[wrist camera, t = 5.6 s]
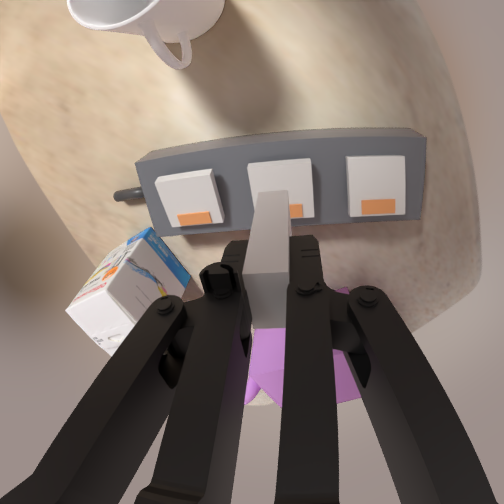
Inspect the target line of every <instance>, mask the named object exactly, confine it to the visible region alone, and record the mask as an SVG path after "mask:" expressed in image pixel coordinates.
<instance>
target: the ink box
mask: <svg viewBox="0 0 504 504" xmlns="http://www.w3.org/2000/svg"><path fill="white" fill-rule="evenodd" d="M190 277H191V276H190V275H189V274H188V273H187V272H186V270H185V269H184V268H183V266H182V265H181V264H180V263H179V261H178V260H177V259H176V257H175V256H174V255H173V254H172V252H171V251H170V250H169V248H168V247H167V246H166V245H165V243H164V242H163V241H162V240H161V238H160V237H157V235H156V232H155V231H154V230H153V229H152V228H151V227H149V228H147V229H146V230H144V231H142V232H141V233H139V234H137V235H136V236H134V237H132V238H131V239H129V240H128V241H126V242H124V243H123V244H121V245H120V246H118V247H117V248H115V249H114V250H112V251H110V252H109V253H108V255H107V256H106V257H105V259H104V260H103V261H102V262H101V264H100V265H99V266H98V268H97V269H96V270H95V272H94V273H93V274H92V276H91V277H90V278H89V279H88V281H87V282H86V283H85V285H84V286H83V287H82V289H81V290H80V292H79V293H78V294H77V296H76V297H75V298H74V300H73V301H72V302H71V304H70V305H69V307H68V308H67V309H66V312H67V313H68V314H69V315H70V317H71V318H72V319H73V320H74V321H75V322H76V323H77V324H78V325H79V326H80V327H81V328H82V329H83V330H84V331H85V332H86V334H87V335H89V337H90V338H91V339H92V340H94V342H95V343H96V344H97V345H99V346H100V347H101V348H102V349H104V350H105V351H106V352H107V353H108V354H109V355H110V356H111V357H112V355H113V354H114V353H115V351H116V350H117V349H118V347H119V346H120V345H121V343H122V342H123V341H124V339H125V338H126V336H127V335H128V334H129V332H130V331H131V330H132V328H133V327H134V326H135V324H136V323H137V322H138V321H139V319H140V318H141V317H142V315H143V314H144V313H145V311H146V310H147V309H148V307H149V306H150V305H151V304H152V303H153V302H154V301H155V300H156V299H158V298H160V297H162V296H166V295H176V296H178V297H180V298H182V296H183V293H184V291H185V288H186V286H187V284H188V282H189V279H190Z"/></svg>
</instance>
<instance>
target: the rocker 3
mask: <svg viewBox="0 0 504 504" xmlns="http://www.w3.org/2000/svg"><path fill="white" fill-rule="evenodd" d="M345 158H346V174H347V194H348V214H349V216H350V217H360V216H381V215H404V214H405V156H402V155H365V156H345Z"/></svg>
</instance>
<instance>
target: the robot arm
mask: <svg viewBox="0 0 504 504" xmlns="http://www.w3.org/2000/svg"><path fill="white" fill-rule="evenodd" d="M199 276H200V280H201V283H202V286H203V289H204V292H205V293H204V296H203V297H201V298H199V299H196V300H192V301H188V302H184V303H183V301H182V299H181V298H180V297H178V296H176V295H166V296H162V297H160V298H158V299H156V300H155V301H154V302H153V303H152V304H151V305H150V306H149V307H148V309H147V310H146V311H145V313H144V314H143V315H142V317H141V318H140V319H139V321H138V322H137V323H136V324H135V326H134V327H133V328H132V330H131V331H130V332H129V334H128V335H127V336H126V338H125V339H124V341H123V342H122V343H121V345H120V346H119V347H118V349H117V350H116V351H115V353H114V354H113V355H112V357H111V358H110V360H109V361H108V362H107V364H106V365H105V367H104V368H103V369H102V371H101V372H100V373H99V375H98V376H97V378H96V379H95V380H94V382H93V383H92V385H91V386H90V388H89V389H88V390H87V392H86V393H85V395H84V396H83V398H82V399H81V401H80V402H79V403H78V405H77V407H76V408H75V409H74V411H73V412H72V414H71V415H70V417H69V418H68V420H67V422H66V423H65V424H64V426H63V427H62V429H61V430H60V432H59V433H58V435H57V436H56V438H55V439H54V441H53V442H52V444H51V446H50V447H49V449H48V450H47V452H46V453H45V455H44V456H43V458H42V460H41V461H40V463H39V464H38V466H37V468H36V469H35V471H34V472H33V474H32V475H31V476H29V477H28V478H27V479H26V480H25V481H23V482H22V483H20V484H19V485H18V486H17V487H15V488H14V489H12V490H11V491H10V492H9V493H7V494H6V495H5V496H3V497H2V498H1V499H0V504H118V503H119V502H120V500H121V498H122V496H123V494H124V493H125V491H126V489H127V487H128V486H129V484H130V482H131V480H132V479H133V477H134V475H135V473H136V472H137V470H138V468H139V466H140V464H141V463H142V461H143V459H144V457H145V456H146V454H147V452H148V450H149V448H150V447H151V445H152V443H153V441H154V440H155V438H156V436H157V434H158V432H159V431H160V429H161V427H162V425H163V423H164V421H165V420H166V418H167V416H168V415H169V416H168V420H167V424H166V427H165V431H164V435H163V439H162V442H161V446H160V450H159V454H158V458H157V462H156V465H155V469H154V474H153V477H152V480H151V483H150V484H149V485H148V486H147V487H145V488H144V489H142V490H141V491H140V492H139V494H138V495H137V497H136V500H135V502H134V504H230V503H231V497H232V490H233V483H234V475H235V468H236V461H237V453H238V446H239V439H240V432H241V424H242V417H243V409H244V402H245V394H246V386H247V378H248V371H249V363H250V355H251V347H252V334H251V324H253V329H270V328H286V331H285V356H284V378H283V397H282V414H281V430H280V445H279V457H278V470H277V482H276V494H275V501H274V504H340V503H339V452H338V424H337V423H338V421H337V401H336V385H335V371H334V359H333V349H335V350H340V351H343V354H344V356H345V359H346V361H347V364H348V366H349V368H350V371H351V373H352V376H353V378H354V380H355V383H356V385H357V388H358V390H359V393H360V395H361V398H362V400H363V402H364V405H365V407H366V410H367V412H368V415H369V418H370V420H371V423H372V425H373V428H374V430H375V433H376V436H377V438H378V441H379V444H380V446H381V448H382V451H383V454H384V457H385V459H386V462H387V465H388V468H389V470H390V473H391V476H392V479H393V482H394V484H395V487H396V490H397V493H398V496H399V499H400V502H401V504H498V503H497V502H496V499H495V497H494V494H493V492H492V489H491V487H490V484H489V482H488V479H487V477H486V474H485V472H484V470H483V467H482V465H481V463H480V461H479V459H478V456H477V454H476V452H475V450H474V448H473V445H472V443H471V441H470V439H469V437H468V435H467V433H466V431H465V429H464V427H463V425H462V423H461V421H460V419H459V417H458V415H457V413H456V411H455V409H454V407H453V405H452V403H451V402H450V400H449V398H448V396H447V394H446V392H445V390H444V389H443V387H442V385H441V383H440V382H439V380H438V378H437V376H436V374H435V373H434V371H433V369H432V368H431V366H430V364H429V363H428V361H427V359H426V357H425V355H424V354H423V352H422V350H421V349H420V347H419V346H418V344H417V342H416V341H415V339H414V337H413V336H412V334H411V332H410V331H409V329H408V328H407V326H406V325H405V323H404V321H403V320H402V318H401V317H400V315H399V314H398V312H397V311H396V309H395V307H394V306H393V304H392V303H391V301H390V300H389V298H388V297H387V295H386V294H385V293H384V292H383V291H382V290H381V289H378V288H376V287H373V286H359V287H357V288H355V289H353V290H352V291H351V292H350V293H349V294H345V293H340V292H336V291H334V290H332V289H330V288H329V287H328V286H327V285H326V284H325V282H324V279H323V272H322V265H321V257H320V250H319V243H318V241H317V239H316V238H315V237H314V236H313V235H304V236H292V230H291V218H290V207H289V197H288V190H280V191H268V192H258V197H257V202H256V207H255V212H254V217H253V222H252V227H251V232H250V237H249V240H239V241H231V242H230V243H229V244H228V245H227V246H226V248H225V250H224V253H223V257H222V260H221V262H217V263H213V264H211V265H208V266H206V267H205V268H204V269H203V270H202V271H201V272H200V274H199Z"/></svg>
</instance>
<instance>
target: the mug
mask: <svg viewBox="0 0 504 504" xmlns="http://www.w3.org/2000/svg"><path fill="white" fill-rule="evenodd" d="M224 4H225V0H67V5H68V8H69V11H70V13H71V15H72V17H73V18H74V19H75V20H76V21H77V22H78V23H79V24H80V25H82V26H84V27H86V28H89V29H93V30H101V31H110V32H119V33H127V34H134V35H141V36H145V38H146V39H147V41H148V43H149V44H150V46H151V47H152V49H153V50H154V51H155V53H156V54H157V55H158V56H159V57H160V58H161V60H162V61H164V62H165V63H166V64H167V65H168V66H170V67H172V68H174V69H183V68H185V67H187V66H188V65H189V64H190V63H191V60H192V48H191V43H190V40H192V39H195V38H197V37H199V36H201V35H202V34H204V33H205V32H207V31H208V30H209V29H210V28H211V27H212V26H213V25H214V24H215V23H216V22H217V20H218V19H219V17H220V15H221V13H222V11H223V8H224ZM164 42H166V43H180V45H181V49H182V61H180V60H178V59H177V58H176V57H175V56H174V55H173V54H172V53H171V52H170V50H169V49H168V48H167V46H166V45H165V43H164Z"/></svg>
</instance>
